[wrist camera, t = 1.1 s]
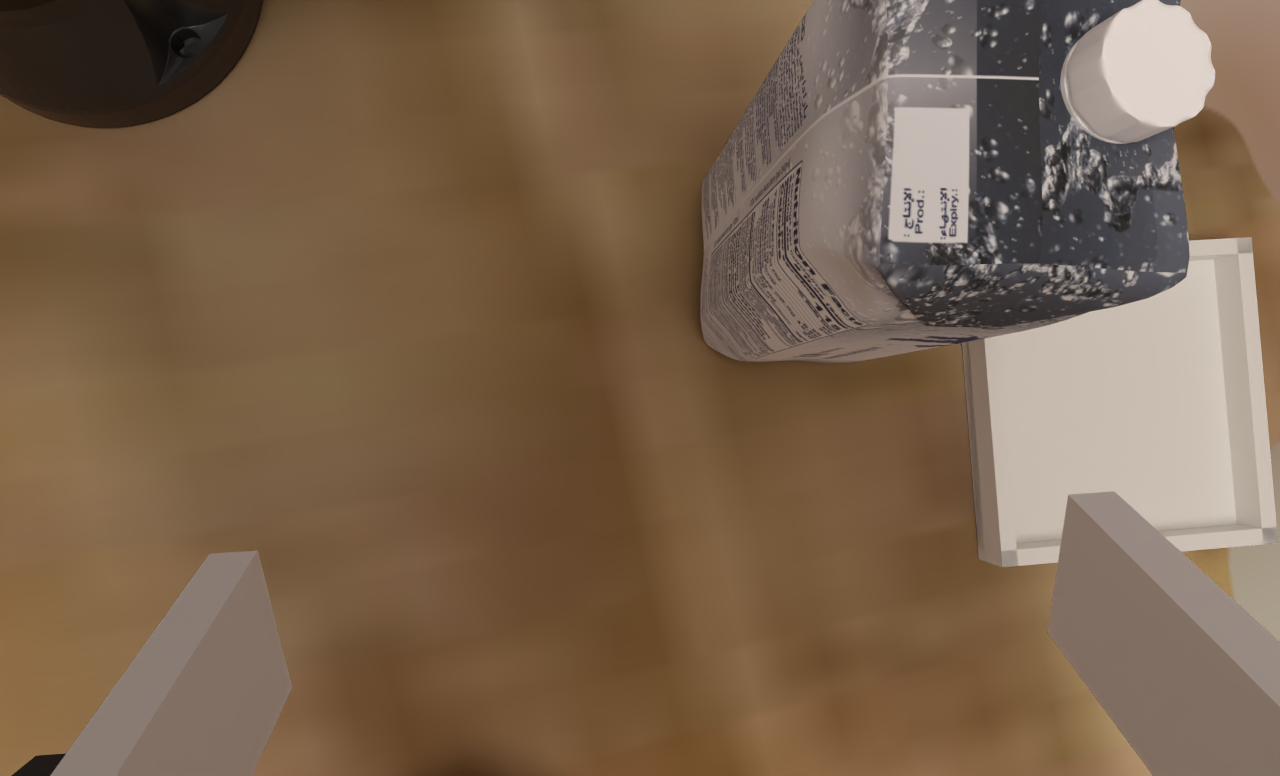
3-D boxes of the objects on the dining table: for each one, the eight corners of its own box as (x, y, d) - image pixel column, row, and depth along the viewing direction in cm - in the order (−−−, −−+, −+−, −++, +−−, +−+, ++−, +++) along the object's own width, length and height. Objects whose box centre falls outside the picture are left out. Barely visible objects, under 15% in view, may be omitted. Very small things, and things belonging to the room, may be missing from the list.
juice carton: (686, 367, 45) (870, 296, 19) (689, 162, 46) (873, -199, 19) (857, 370, 46) (1270, 307, 19) (858, 169, 47) (1266, -168, 20)
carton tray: (955, 260, 47) (977, 252, 44) (1215, 246, 48) (1251, 237, 46) (978, 559, 46) (1002, 567, 44) (1240, 536, 48) (1278, 543, 45)
